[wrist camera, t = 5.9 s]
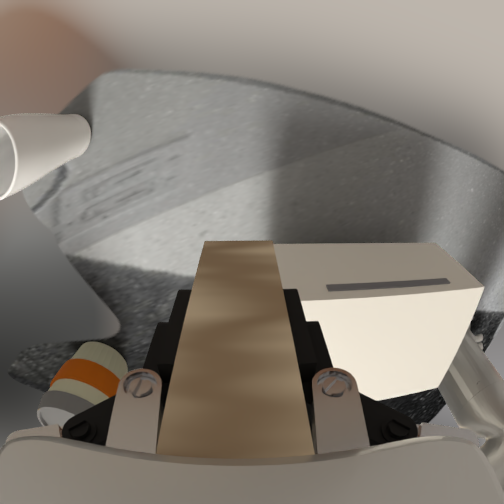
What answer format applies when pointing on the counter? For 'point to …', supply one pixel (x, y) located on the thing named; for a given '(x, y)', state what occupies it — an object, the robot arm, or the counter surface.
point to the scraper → (236, 363)
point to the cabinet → (384, 309)
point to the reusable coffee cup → (82, 383)
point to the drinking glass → (38, 147)
